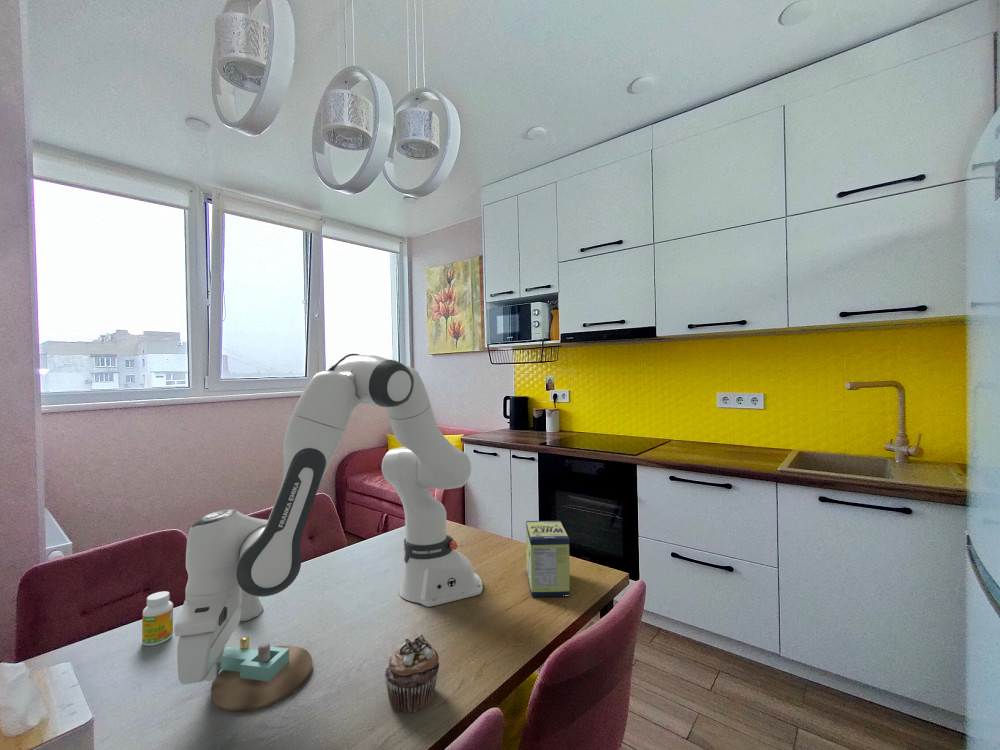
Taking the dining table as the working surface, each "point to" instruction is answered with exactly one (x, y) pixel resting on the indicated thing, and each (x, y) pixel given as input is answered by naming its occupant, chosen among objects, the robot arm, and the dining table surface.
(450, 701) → the dining table surface
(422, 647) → the cupcake
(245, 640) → the dowel
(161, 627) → the supplement bottle
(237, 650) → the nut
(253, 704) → the disc base
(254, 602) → the flask
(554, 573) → the protein box
